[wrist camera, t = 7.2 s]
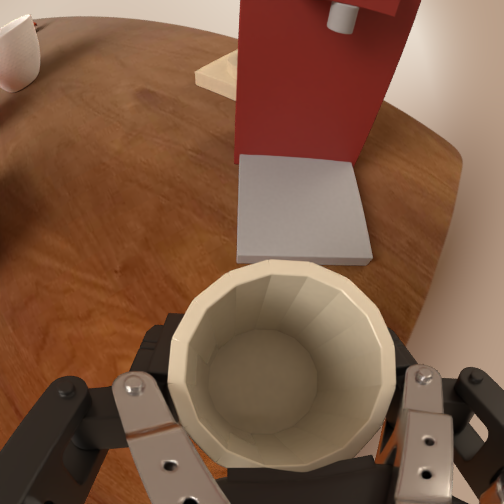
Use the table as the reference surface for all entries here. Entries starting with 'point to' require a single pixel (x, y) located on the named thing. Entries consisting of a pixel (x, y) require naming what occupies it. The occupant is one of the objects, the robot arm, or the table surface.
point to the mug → (18, 54)
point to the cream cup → (281, 367)
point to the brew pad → (220, 76)
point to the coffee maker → (310, 122)
